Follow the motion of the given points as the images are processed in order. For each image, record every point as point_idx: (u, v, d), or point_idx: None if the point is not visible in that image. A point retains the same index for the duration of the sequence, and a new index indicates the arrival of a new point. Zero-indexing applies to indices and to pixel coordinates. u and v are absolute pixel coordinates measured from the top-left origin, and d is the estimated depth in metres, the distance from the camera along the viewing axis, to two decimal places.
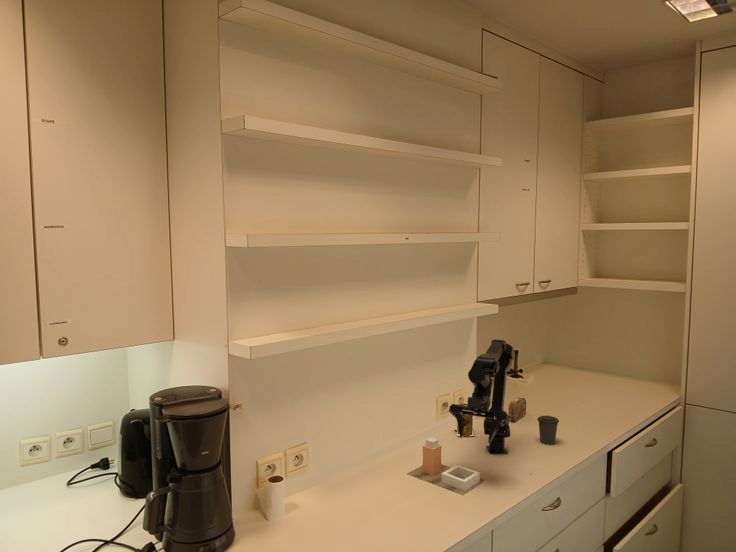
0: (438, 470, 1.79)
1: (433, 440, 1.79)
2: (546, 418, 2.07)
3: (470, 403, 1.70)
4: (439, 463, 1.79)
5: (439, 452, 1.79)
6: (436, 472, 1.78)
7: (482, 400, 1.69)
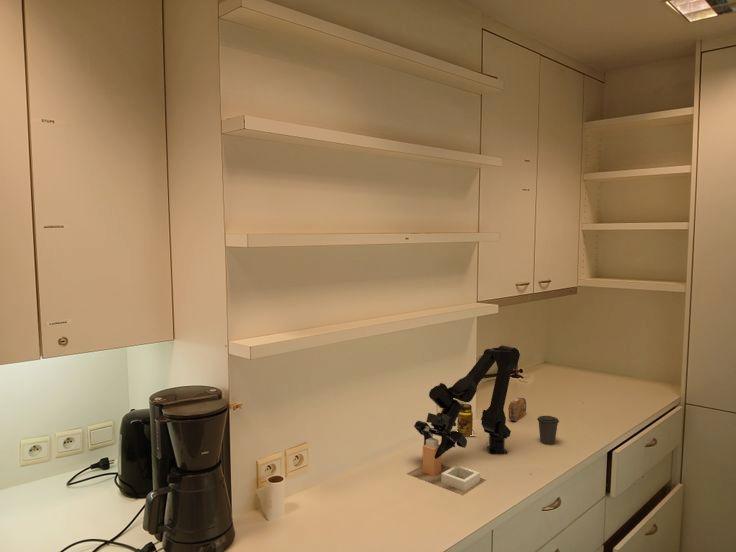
0: (438, 470, 1.79)
1: (433, 440, 1.79)
2: (546, 418, 2.07)
3: (428, 418, 1.79)
4: (439, 463, 1.79)
5: None
6: (436, 472, 1.78)
7: (439, 416, 1.77)
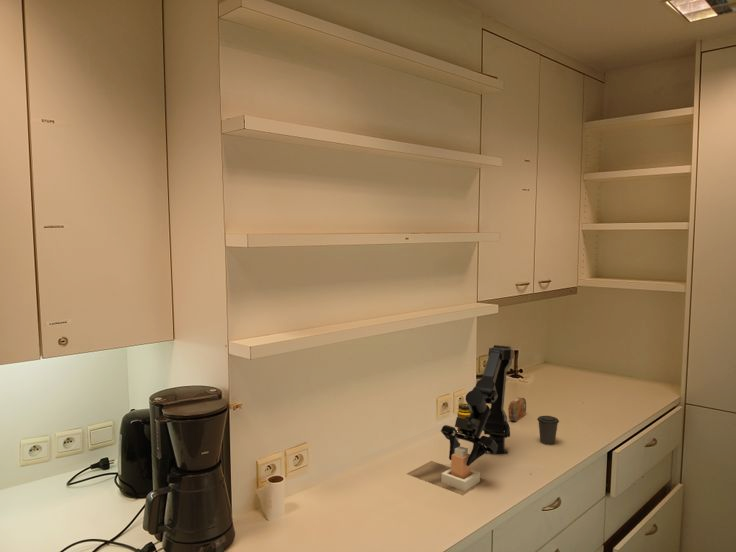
0: None
1: (462, 449, 1.71)
2: (546, 418, 2.07)
3: (457, 422, 1.72)
4: (468, 473, 1.72)
5: None
6: None
7: (469, 421, 1.70)
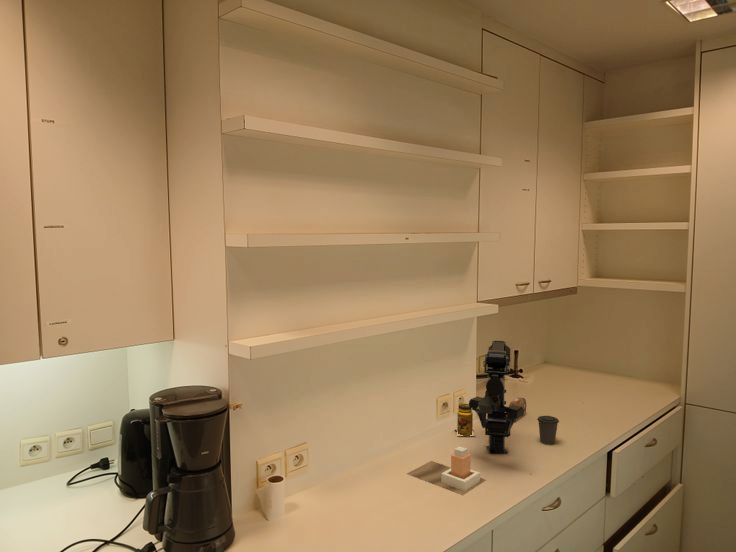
0: None
1: (462, 449, 1.71)
2: (546, 418, 2.07)
3: (480, 409, 1.82)
4: (468, 473, 1.71)
5: (468, 461, 1.71)
6: None
7: (490, 407, 1.79)
